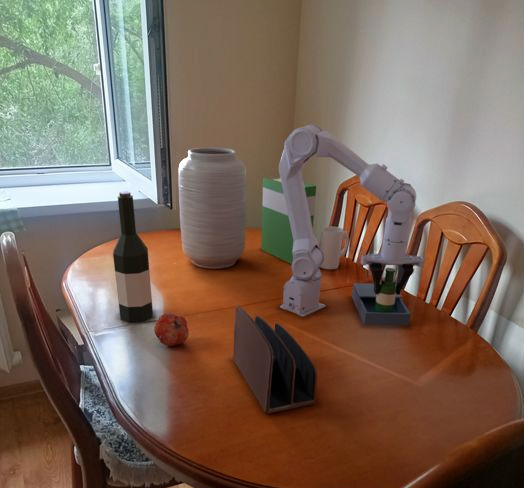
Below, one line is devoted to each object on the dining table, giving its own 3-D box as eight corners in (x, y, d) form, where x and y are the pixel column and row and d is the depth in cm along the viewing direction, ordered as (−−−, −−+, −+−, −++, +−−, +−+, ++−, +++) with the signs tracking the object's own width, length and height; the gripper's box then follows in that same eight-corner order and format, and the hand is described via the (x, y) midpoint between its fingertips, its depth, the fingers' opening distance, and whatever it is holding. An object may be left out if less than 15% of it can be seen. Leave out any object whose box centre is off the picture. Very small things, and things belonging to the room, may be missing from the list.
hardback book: (261, 249, 170) (263, 177, 159) (278, 245, 174) (281, 175, 162) (292, 264, 157) (297, 188, 146) (310, 260, 161) (316, 185, 150)
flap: (353, 284, 134) (353, 283, 133) (393, 285, 134) (393, 284, 134) (359, 297, 126) (359, 296, 126) (401, 298, 127) (401, 297, 126)
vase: (174, 254, 162) (168, 146, 146) (231, 248, 170) (231, 145, 154) (193, 276, 146) (189, 157, 130) (255, 267, 154) (258, 155, 138)
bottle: (387, 315, 120) (394, 274, 115) (370, 309, 123) (376, 269, 118) (396, 309, 123) (404, 269, 118) (380, 303, 126) (387, 264, 121)
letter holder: (266, 415, 88) (268, 347, 82) (232, 360, 105) (232, 300, 98) (315, 404, 92) (322, 338, 85) (275, 353, 108) (278, 294, 101)
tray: (351, 298, 136) (353, 285, 134) (391, 299, 136) (393, 286, 134) (363, 326, 121) (365, 313, 119) (408, 327, 121) (410, 313, 119)
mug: (324, 271, 153) (328, 233, 148) (313, 263, 159) (317, 227, 153) (351, 267, 157) (356, 230, 152) (340, 260, 163) (344, 224, 157)
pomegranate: (151, 351, 111) (161, 343, 103) (148, 319, 113) (157, 309, 104) (183, 348, 115) (195, 340, 106) (179, 317, 116) (191, 307, 107)
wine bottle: (145, 324, 118) (134, 198, 104) (113, 320, 119) (98, 195, 105) (159, 310, 125) (150, 190, 111) (128, 306, 126) (115, 187, 112)
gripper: (421, 234, 118) (411, 287, 124) (361, 233, 118) (354, 285, 124) (430, 243, 112) (419, 298, 118) (367, 242, 111) (359, 297, 118)
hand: (386, 292), depth 121 cm, fingers closed on bottle, 5 cm apart
